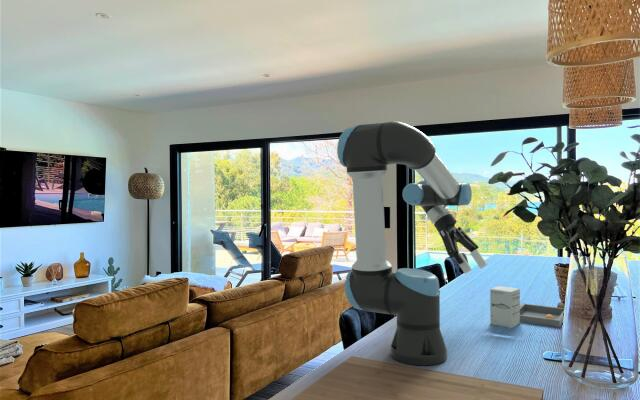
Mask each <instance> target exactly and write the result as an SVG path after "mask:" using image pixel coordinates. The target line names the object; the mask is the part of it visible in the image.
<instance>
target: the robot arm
mask: <svg viewBox="0 0 640 400" xmlns="http://www.w3.org/2000/svg"><path fill="white" fill-rule="evenodd" d="M336 147H337V148H336V151H337V158H338V160H339V164H341V166H343V167H345V168H346V174H347V175H348V176H349V177H350V178H351V179H352V194H353V195H352V196H353V213H354V215H353V216H354V232H355V233H354V235H355V252H356V253H355V254H356V261H355V262H354V263H353V264H352V265H351V270H349V271H348V272H347V274H346V277H345V279H346V280H345V281H344V292H345V296H346V297H345V298H346V299H347V301H348V303H349V304H350V305H351V306H352V307H353V308H354V309H357V310H361V311H364V312H368V313H369V312H372V313H379V314H387V315H394V316H396V328H395V331H394V334H393V338H392V341H391V345H390V356H391V358H393V359H394V360H396V361H397V362H400V363H403V364H407V365H414V366H433V365H438V364H442V363H443V362H445V361H446V360H447V359H448V349H447V345H446V343H445V341H444V340H445V339H444V338H443V334H442V332H441V325H440V324H441V323H440V321H441V319H440V318H441V316H440V315H441V314H440V313H441V312H440V311H441V310H440V307H441V305H440V304H441V303H440V302H441V301H440V299H441V298H440V295H441V290H440V283H439V282H440V281H439V278H438V277H437V276H436V275H435V274H433V272H429V271H427V270H424V269H419V268H407V267H403V268H401V267H400V268H398V269H396V271H395V272H393V266H392V263H391V262H390V261H389V260H388V259H387V248H386V247H387V245H386V243H387V242H386V228H385V223H386V222H385V208H384V207H385V205H384V204H385V203H384V185H383V184H384V183H383V177H384V176H385V174H386V173H387V172H388V165H396V164H397V165H404V166H406V167H407V168H409V169H411V170H413V171H414V170H415V171H416V172H417V174H418V175H419V176H420V177H421V178H422V180H421V181H418V182H417V183H416V182H415V183H409V184H407V185H405V186H404V188H403V189H402V198H403V201H404V202H405V203H407V204H408V205H411V206H417V207H421V208H422V209H423V211H424V213H425V214H426V215H427V217H428V219H429V220H430V222H431V223H432V224H433V226H434V228H435V230H437V232H438V234H439V236H440V237H441V240H442V243H443V245H444V247H445V250H446V253H447V255H448V257H449V258H450V259H454V260H455V262H456V263H457V264H458V266H459V267H460V269H461V270H462V272H463V274H465V275H466V274H467V273H469V272H470V271H472V270H473V269H472V267H471V266H470V264H469V262H468V261H467V260H466V258H465V257H464V255H463V254H462V253H461V252H459V247H458V244H457V243H459V244H460V245H462V247H464V248H465V249H466V250H468V251H469V252H470V253H469V254H470V256H471V257H472V258H473V260H474V261H475V262H476V264H477V265H478V268H479V269H483V268H484V267H486V266H488V263H487V262H486V260H485V259H484V258H483V256H482V254H481V253H480V252H479V250H478V249H479V245H478V244H477V243H476V242H475V241H474V240H473V239H472V238H471V237H470V236H469V235H468V234H467V233H466V231H464V230H463V228H462V227H461V226H458V227H456V226H455V225H456V224H457V222H458V221H457V220H456V217H454V215H453V214H452V213H451V211H450V209H449V208H448V206H449V207H450V206H452V207H455V206H458V207H460V206H468V205H469V204H470V203H471V201H472V195H473V194H472V192H473V191H472V187H471V186H472V185H470V184H469V183H467V182H463V181H462V182H458V180H457V179H456V178H455V176H454V175H453V173H451V171H450V170H449V169H448V168H447V166H446V165H445V163H444V162H443V161H442V159H441V158H440V156H438V154H437V153H436V146H435V144H434V143H433V141H432V140H431V139H430V138H429V137H428V136H427V135H426V134H425V133H423V132H422V131H420V129H418V128H416V127H414V126H412V125H409V124H407V123H405V122H402V121H401V122H400V121H387V122H376V123H366V124H358V125H353V126H348V127H347V128H346V129H344V130H343V131H342V133H341V134H340V135H339V139H338V141H337V146H336Z"/></svg>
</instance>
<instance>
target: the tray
mask: <svg viewBox="0 0 640 400" xmlns="http://www.w3.org/2000/svg"><path fill="white" fill-rule="evenodd" d="M563 313H564V307H556V306H549V305H548V306H547V305H539V304H532V303H522V304H520V323H526V324H531V325H539V326H544V327H545V326H547V327H551V328H552V327H553V328H561V326H562V325H563V324H562V321H563ZM548 314H550V315H552V316H553V317H554V319H550V318H545V316H546V315H548Z"/></svg>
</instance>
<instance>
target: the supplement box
mask: <svg viewBox="0 0 640 400" xmlns="http://www.w3.org/2000/svg"><path fill="white" fill-rule="evenodd" d="M489 290H490V292H489V294H490V298H489V299H490V300H489V301H490V302H489V304H490V306H489V307H490V311H489V312H490V314H489V315H490V316H489V317H490V318H489V319H490V320H489V321H490V325H493V326H494V325H495V326H499V327H503V328H509V329H513V328H514V327H516V326H518V325H519V324H520V323H521V322H520V306H521V300H520V297H521V288H516V287H509V286H503V285H502V286H501V285H497V286H495V287H492V288H490V289H489Z"/></svg>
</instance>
